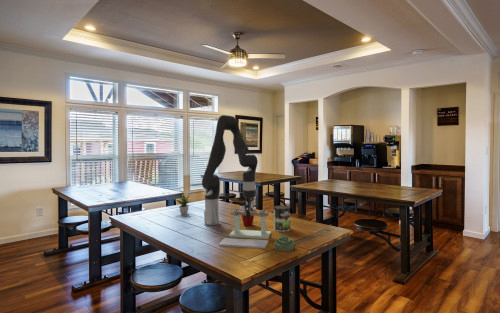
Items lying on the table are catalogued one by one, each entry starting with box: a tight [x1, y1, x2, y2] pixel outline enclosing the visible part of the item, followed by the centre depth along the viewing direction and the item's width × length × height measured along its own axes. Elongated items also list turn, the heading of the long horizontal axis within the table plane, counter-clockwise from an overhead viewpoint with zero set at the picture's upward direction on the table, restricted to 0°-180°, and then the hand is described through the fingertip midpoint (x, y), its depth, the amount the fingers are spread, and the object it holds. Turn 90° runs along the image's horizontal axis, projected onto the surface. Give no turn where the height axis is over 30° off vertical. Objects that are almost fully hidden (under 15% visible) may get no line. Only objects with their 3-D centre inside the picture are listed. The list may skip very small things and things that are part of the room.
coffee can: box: [273, 204, 291, 233], centre depth 186 cm, size 10×10×14 cm
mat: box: [218, 237, 269, 250], centre depth 160 cm, size 25×10×1 cm, turn 77°
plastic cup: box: [239, 205, 257, 227], centre depth 197 cm, size 11×11×12 cm
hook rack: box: [228, 208, 272, 240], centre depth 175 cm, size 23×10×15 cm, turn 77°
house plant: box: [173, 193, 192, 215], centre depth 233 cm, size 14×14×16 cm
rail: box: [230, 210, 269, 217], centre depth 174 cm, size 22×2×2 cm, turn 77°
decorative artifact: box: [274, 234, 295, 252], centre depth 154 cm, size 10×7×10 cm
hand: (249, 216), depth 175 cm, fingers open, 7 cm apart
